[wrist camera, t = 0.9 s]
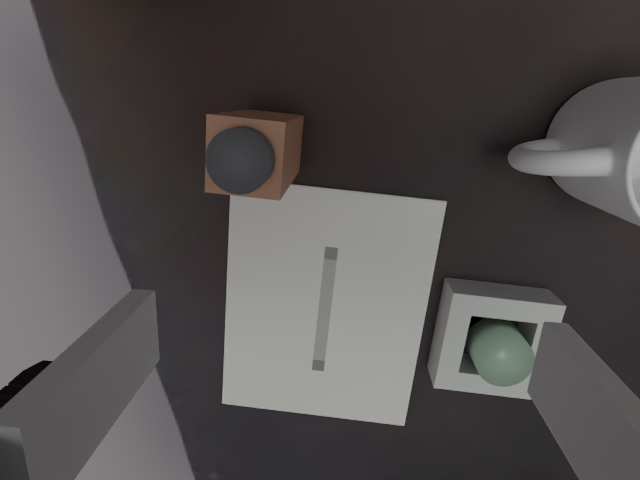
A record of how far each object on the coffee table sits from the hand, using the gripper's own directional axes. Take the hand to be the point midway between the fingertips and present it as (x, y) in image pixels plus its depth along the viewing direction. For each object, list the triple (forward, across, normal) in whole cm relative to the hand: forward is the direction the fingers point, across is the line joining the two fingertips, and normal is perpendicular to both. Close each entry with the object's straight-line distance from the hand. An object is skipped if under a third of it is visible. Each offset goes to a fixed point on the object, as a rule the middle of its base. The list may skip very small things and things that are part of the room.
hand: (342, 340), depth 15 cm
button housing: (+19, +12, -9) cm, 24 cm away
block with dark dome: (+19, -6, +4) cm, 21 cm away
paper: (+19, -1, -9) cm, 21 cm away
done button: (+17, +12, -9) cm, 23 cm away
